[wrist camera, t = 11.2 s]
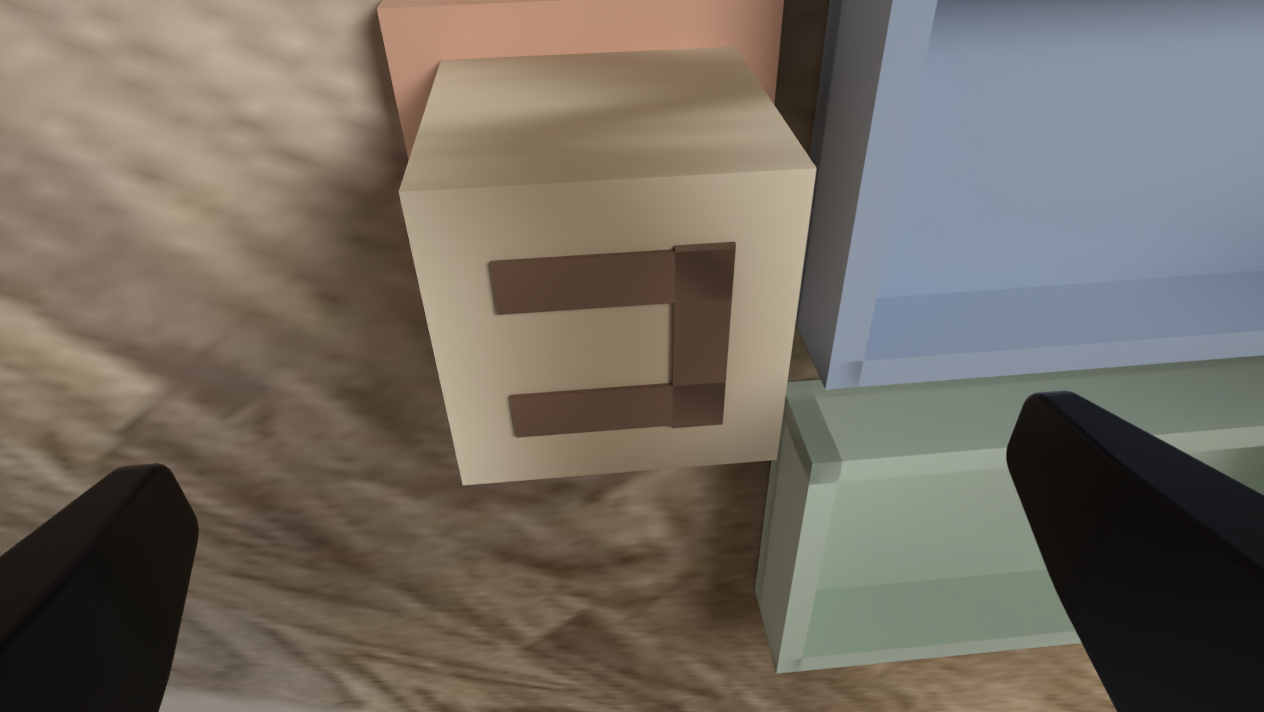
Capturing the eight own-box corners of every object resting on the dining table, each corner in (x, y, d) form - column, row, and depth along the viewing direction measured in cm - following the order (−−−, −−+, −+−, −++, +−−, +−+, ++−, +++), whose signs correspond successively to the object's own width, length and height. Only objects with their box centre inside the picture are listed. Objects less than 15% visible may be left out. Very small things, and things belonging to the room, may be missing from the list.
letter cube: (734, 46, 12) (818, 170, 8) (719, 290, 15) (777, 463, 11) (440, 60, 12) (397, 195, 8) (481, 306, 14) (462, 488, 11)
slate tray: (1672, -150, 12) (1890, -131, 10) (1391, 268, 17) (1503, 336, 15) (844, -119, 11) (908, -92, 9) (789, 311, 16) (825, 389, 14)
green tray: (1343, 339, 18) (1441, 410, 16) (1202, 548, 23) (1265, 624, 21) (781, 382, 17) (812, 464, 15) (754, 590, 22) (776, 673, 20)
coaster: (775, -20, 12) (784, -10, 12) (747, 302, 16) (754, 319, 15) (383, -2, 12) (377, 9, 11) (448, 323, 15) (446, 341, 15)
